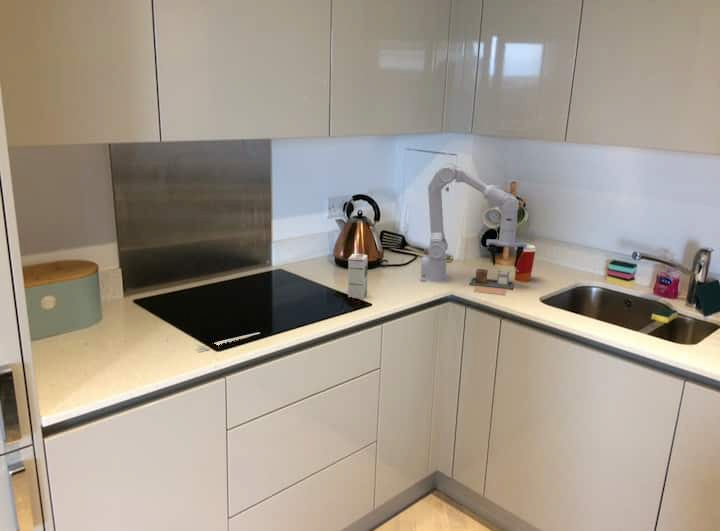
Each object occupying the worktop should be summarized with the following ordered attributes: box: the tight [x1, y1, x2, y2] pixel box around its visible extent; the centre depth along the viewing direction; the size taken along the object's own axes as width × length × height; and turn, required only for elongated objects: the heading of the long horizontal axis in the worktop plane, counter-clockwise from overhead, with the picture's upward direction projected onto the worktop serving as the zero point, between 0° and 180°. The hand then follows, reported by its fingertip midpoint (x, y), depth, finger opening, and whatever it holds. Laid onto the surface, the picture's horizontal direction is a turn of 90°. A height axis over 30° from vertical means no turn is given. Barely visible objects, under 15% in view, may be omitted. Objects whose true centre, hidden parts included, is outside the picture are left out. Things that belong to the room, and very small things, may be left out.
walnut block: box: [474, 268, 489, 284], centre depth 224 cm, size 4×4×5 cm
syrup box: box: [347, 253, 369, 300], centre depth 206 cm, size 6×6×14 cm
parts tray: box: [469, 276, 514, 291], centre depth 223 cm, size 16×8×1 cm, turn 74°
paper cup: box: [514, 243, 537, 283], centre depth 228 cm, size 8×8×14 cm
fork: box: [195, 332, 261, 351], centre depth 167 cm, size 3×20×2 cm, turn 133°
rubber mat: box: [473, 286, 507, 297], centre depth 216 cm, size 11×7×1 cm, turn 74°
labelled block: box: [496, 270, 510, 287], centre depth 222 cm, size 4×4×5 cm
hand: (504, 265), depth 220 cm, fingers open, 7 cm apart
